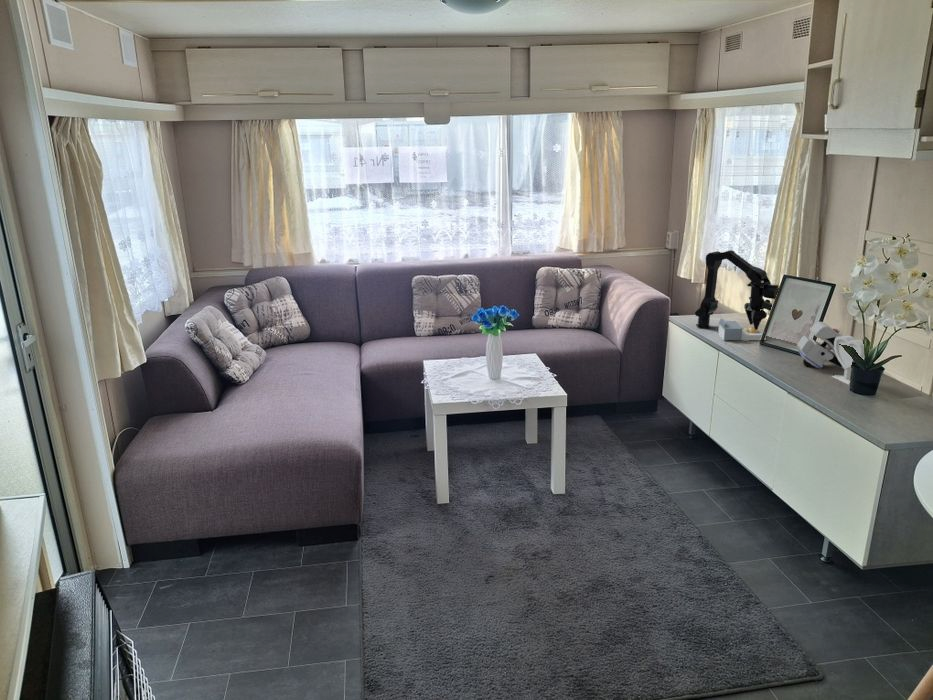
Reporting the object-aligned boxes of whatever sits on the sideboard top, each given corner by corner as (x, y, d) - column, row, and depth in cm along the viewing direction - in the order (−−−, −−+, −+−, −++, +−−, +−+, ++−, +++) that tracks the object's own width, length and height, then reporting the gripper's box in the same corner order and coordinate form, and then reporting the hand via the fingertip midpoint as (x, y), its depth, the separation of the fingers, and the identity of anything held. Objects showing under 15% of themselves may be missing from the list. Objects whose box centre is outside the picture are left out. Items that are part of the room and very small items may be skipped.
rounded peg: (747, 336, 355) (748, 326, 353) (755, 336, 354) (756, 326, 353) (749, 338, 351) (750, 328, 349) (757, 338, 350) (758, 329, 349)
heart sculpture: (828, 374, 299) (833, 333, 293) (838, 373, 300) (844, 332, 294) (854, 387, 284) (860, 344, 279) (865, 386, 285) (871, 343, 280)
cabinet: (718, 332, 361) (719, 317, 358) (734, 332, 360) (735, 317, 357) (724, 340, 348) (725, 324, 345) (741, 340, 347) (742, 324, 344)
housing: (718, 333, 360) (719, 324, 358) (759, 334, 358) (760, 324, 356) (723, 340, 349) (724, 330, 347) (766, 341, 346) (767, 331, 345)
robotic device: (833, 386, 306) (867, 351, 299) (793, 358, 305) (826, 322, 299) (825, 378, 316) (858, 343, 309) (787, 351, 315) (819, 315, 308)
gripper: (779, 300, 336) (776, 332, 341) (768, 291, 354) (765, 322, 359) (755, 300, 338) (751, 332, 342) (745, 291, 355) (742, 321, 360)
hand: (753, 326), depth 351 cm, fingers open, 9 cm apart
